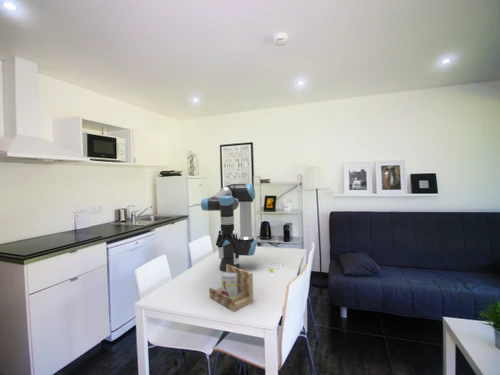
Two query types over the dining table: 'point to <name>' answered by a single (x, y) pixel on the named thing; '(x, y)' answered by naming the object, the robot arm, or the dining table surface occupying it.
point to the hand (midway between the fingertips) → (228, 260)
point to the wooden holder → (243, 290)
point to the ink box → (230, 284)
